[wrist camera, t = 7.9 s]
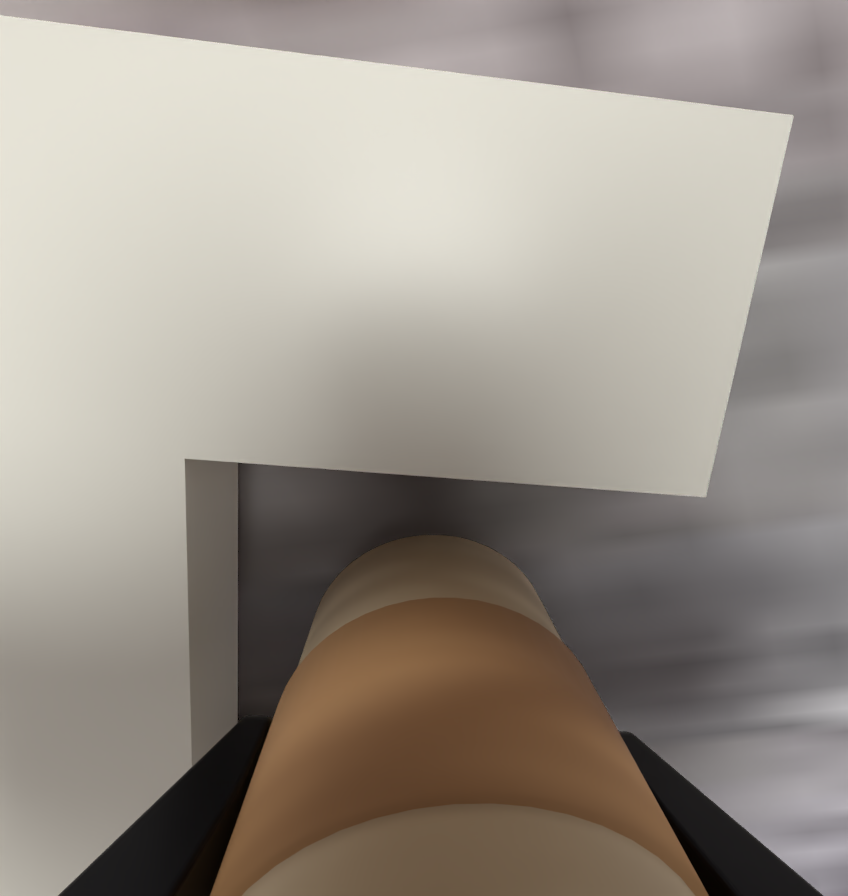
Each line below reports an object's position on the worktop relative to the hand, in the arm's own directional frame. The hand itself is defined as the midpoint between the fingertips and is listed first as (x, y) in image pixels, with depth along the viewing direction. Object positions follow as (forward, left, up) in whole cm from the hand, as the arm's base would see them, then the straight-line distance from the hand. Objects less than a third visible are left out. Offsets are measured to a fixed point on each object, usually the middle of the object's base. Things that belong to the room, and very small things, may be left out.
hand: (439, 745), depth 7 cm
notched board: (+2, 0, -4) cm, 4 cm away
